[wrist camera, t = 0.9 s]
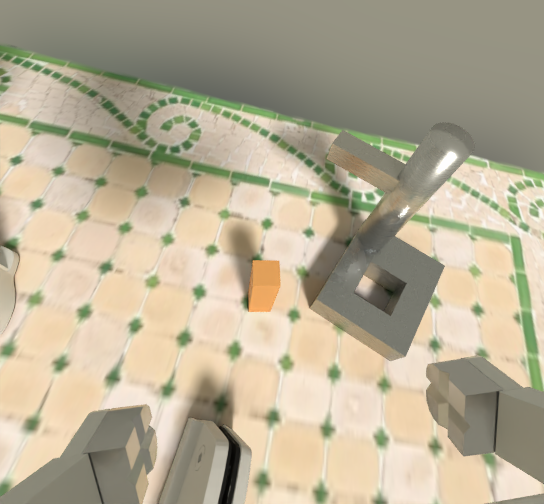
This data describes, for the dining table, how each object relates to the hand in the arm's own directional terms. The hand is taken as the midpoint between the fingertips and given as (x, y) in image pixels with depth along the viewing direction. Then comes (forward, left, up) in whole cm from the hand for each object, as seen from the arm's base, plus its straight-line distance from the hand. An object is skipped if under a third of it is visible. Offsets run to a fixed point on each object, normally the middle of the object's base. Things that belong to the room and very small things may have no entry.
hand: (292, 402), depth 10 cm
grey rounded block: (+1, -11, -32) cm, 34 cm away
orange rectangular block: (-6, +11, -31) cm, 34 cm away
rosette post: (+2, +21, -31) cm, 38 cm away
